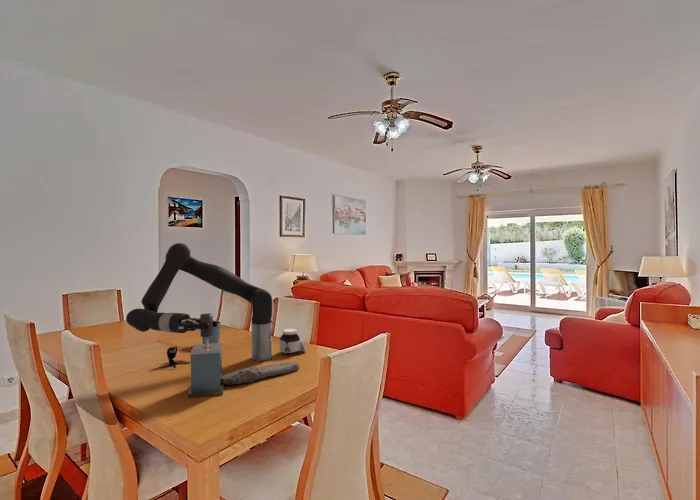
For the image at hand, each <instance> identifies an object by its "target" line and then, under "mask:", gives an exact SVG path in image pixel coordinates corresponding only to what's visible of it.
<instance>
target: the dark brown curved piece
mask: <svg viewBox="0 0 700 500" xmlns="http://www.w3.org/2000/svg"><path fill="white" fill-rule="evenodd" d="M177 352H178V346H177V345H174V346H170V347H169V348H168V349H167V350H166V356H167V359H168V362H164V363H163V364H162V365H160V366H158V367H157V368H158V369H160V370H163V371H164V370H165V371H166V369H167V368H168V370H169V371H170V370H171V369H170V368H174V369H176V368H177V365H176V364H189V363H190V360H189V361H187V360H183V359H182V360H181V359H180V360H174V359H175V358H176V356H177Z"/></svg>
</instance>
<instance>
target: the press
mask: <svg viewBox="0 0 700 500" xmlns="http://www.w3.org/2000/svg"><path fill="white" fill-rule="evenodd" d="M222 345H223V344H222V342H220V343H212V344H208V346H209V348H205V344H203V343H201V344H200V343H197V344H194V345H193V347H192V348H191V351H190V386H189V389H188V393H187V398H188V399H191V398H192V399H194V398H203V397H204V398H206V397H215V396H223V395H224V388H225V385H226V384H224V383H222V382H221V381H222V380H221V379H222V376H223V357H222V356H223V351H222V350H223V347H222Z"/></svg>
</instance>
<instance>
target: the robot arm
mask: <svg viewBox="0 0 700 500" xmlns="http://www.w3.org/2000/svg"><path fill="white" fill-rule="evenodd" d="M179 271H181V272H184V273H186V274H190V275H192V276H193V277H196V278H197V279H200V280H202V281H203V282H205V283H207V284H209V285H210V286H213V287H215V288H217V289H219V290H221V291H223V292H227V293H229V294H232V295H235V296H238V297H241V298H242V299H244V300H245V301H247V302H249V304H251V306H252V308H251V309H252V310H251V311H252V312H251V313H252V314H251V318H250V319H251V320H250V321H251V322H250V323H251V360H252V361H255V362H263V361H269V360H272V355H273V354H272V316H273V297H272V295H271V293H270V292H269V291H268V290H266V289H263V288H262V287H257V286H256V285H253V284H251V283H248V282H247V281H246V280H243V279H242V278H241V277H239V276H237V275H236V274H235V273H233V272H231V271H229V270H227V269H226V268H224V267H222V266H219V265H216V264H212V263H208V262H203V261H201V260H198V259H196V258H194V257H193V256H191V249H190V247H188V245H186V244H185V243H182V242H181V243H180V242H177V243H174V244H172V245H171V246H170V247H169V248H168V250H167V252H166V254H165V261H164V263H163V265H162V267H161V269H160V271H159V272H158V273H157V275H156V276H155V278H154V280H153V281H152V282H151V284H150V285H149V286H148V289H147V290H146V292H145V294H144V295H143V297H142V299H141V300H140V301H141V304H142V306H143V308H134V309H132V310H130V311H129V312H128V313H127V314H126V315H125V317H126V318H125V320H126V323H127V324H128V325H129V326H131V327H132V328H134V329H135V330H137V331H139V332H143V333H144V332H145V333H146V332H148V331H149V330H153V331H159V332H165V333H166V332H167V333H177V334H185V333H187V332H195V331H200V329H201V330H209V324H206V323H200V317H198V318H197V317H191V316H190V315H189V314H188V313H182V312H159V308H160V305H161V304H162V301H163V300H164V299H165V297H166V295H167V293H168V291H169V289H170V287H171V285H172V282H173V281H174V278H175V277H176V276H177V274H178V273H179ZM217 321H218V320H213V327H217V326H218V322H217Z"/></svg>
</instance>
